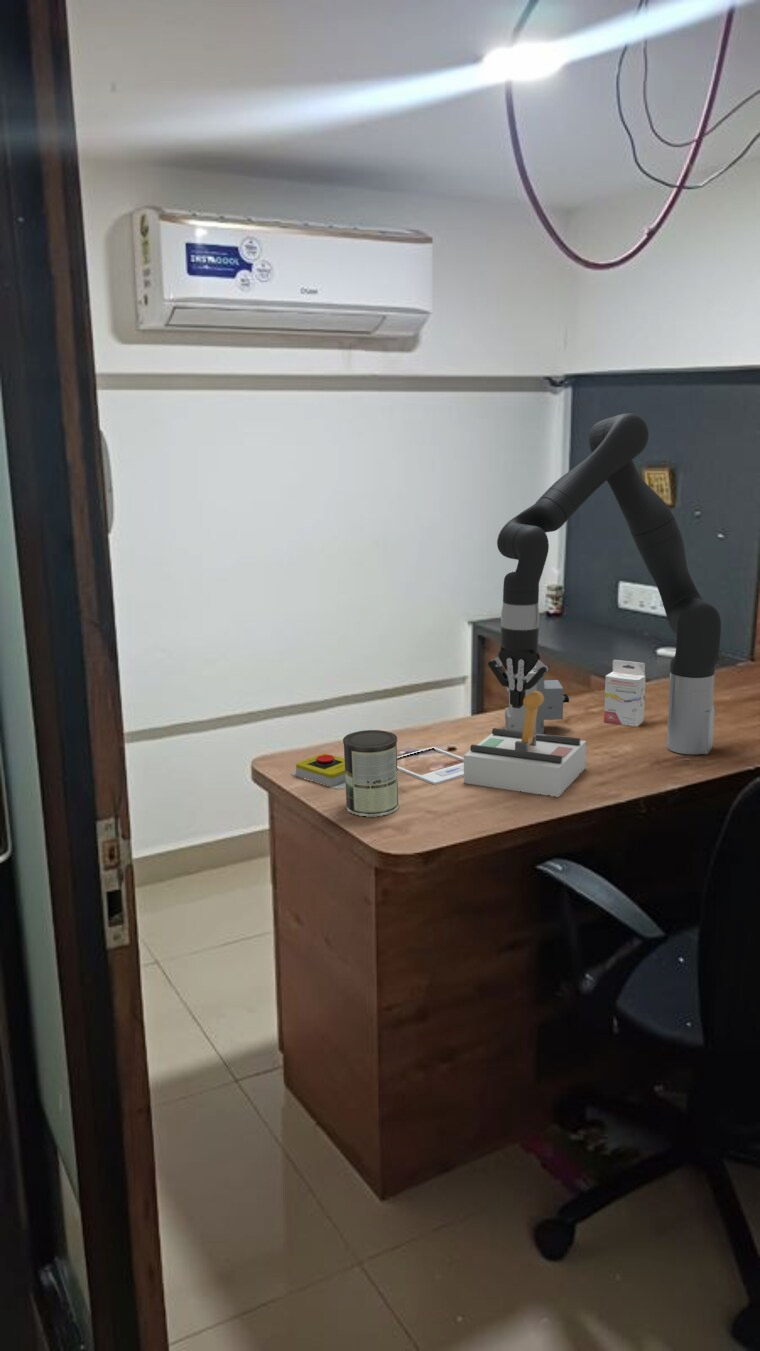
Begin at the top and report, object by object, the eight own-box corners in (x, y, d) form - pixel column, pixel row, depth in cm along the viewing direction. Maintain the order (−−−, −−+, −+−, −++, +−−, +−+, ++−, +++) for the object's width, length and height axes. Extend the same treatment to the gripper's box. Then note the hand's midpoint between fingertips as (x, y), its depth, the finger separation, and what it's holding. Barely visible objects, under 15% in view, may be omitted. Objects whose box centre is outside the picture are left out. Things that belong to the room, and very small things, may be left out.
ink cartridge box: (603, 722, 240) (604, 663, 237) (610, 717, 244) (611, 658, 241) (637, 727, 236) (639, 667, 232) (644, 721, 240) (646, 662, 236)
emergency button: (319, 745, 218) (370, 759, 208) (320, 764, 219) (370, 779, 209) (288, 757, 211) (338, 772, 201) (289, 776, 212) (339, 792, 202)
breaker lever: (536, 743, 206) (545, 692, 202) (530, 748, 203) (539, 697, 199) (522, 738, 207) (530, 688, 204) (516, 744, 204) (524, 693, 200)
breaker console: (585, 768, 210) (586, 732, 208) (558, 797, 194) (558, 758, 192) (496, 756, 219) (496, 721, 217) (463, 783, 204) (463, 745, 202)
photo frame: (434, 781, 203) (381, 760, 217) (434, 787, 203) (381, 765, 217) (487, 765, 211) (433, 745, 225) (487, 770, 212) (433, 750, 226)
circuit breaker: (569, 734, 232) (570, 672, 228) (508, 736, 233) (508, 673, 229) (564, 725, 239) (565, 664, 236) (505, 726, 240) (505, 666, 236)
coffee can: (334, 808, 192) (331, 739, 189) (372, 793, 200) (369, 726, 196) (373, 822, 185) (370, 750, 182) (410, 806, 193) (408, 736, 189)
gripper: (557, 624, 200) (554, 706, 204) (496, 618, 206) (493, 698, 210) (545, 631, 193) (541, 716, 198) (482, 624, 199) (480, 707, 204)
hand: (517, 707), depth 204 cm, fingers closed
